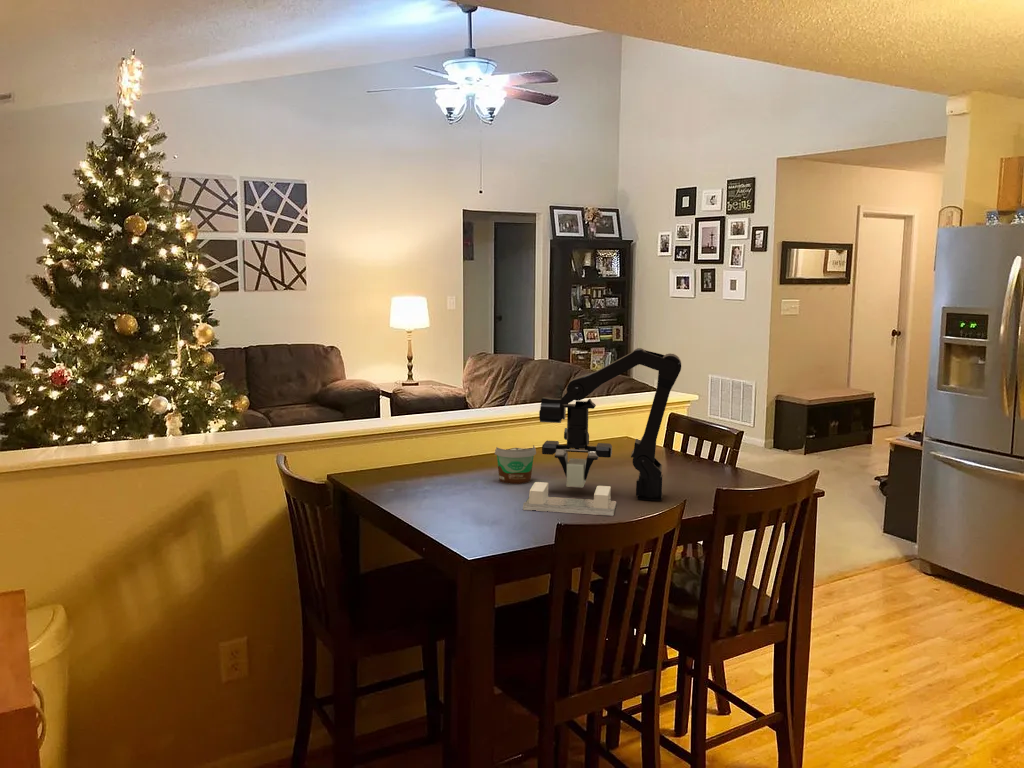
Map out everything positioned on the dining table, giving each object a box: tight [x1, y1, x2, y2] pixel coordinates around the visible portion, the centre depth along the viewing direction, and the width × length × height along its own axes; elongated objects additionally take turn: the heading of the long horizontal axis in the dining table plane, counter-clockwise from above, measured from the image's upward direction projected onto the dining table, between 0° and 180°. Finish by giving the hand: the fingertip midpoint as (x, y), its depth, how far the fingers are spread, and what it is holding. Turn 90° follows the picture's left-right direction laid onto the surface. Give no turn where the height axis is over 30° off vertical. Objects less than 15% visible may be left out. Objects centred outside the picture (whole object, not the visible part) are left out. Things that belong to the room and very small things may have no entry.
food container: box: [494, 445, 537, 485], centre depth 240 cm, size 12×6×10 cm, turn 105°
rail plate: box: [522, 496, 617, 517], centre depth 215 cm, size 23×10×2 cm, turn 79°
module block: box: [565, 457, 587, 488], centre depth 228 cm, size 4×8×6 cm, turn 169°
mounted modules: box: [528, 481, 612, 509], centre depth 215 cm, size 20×9×4 cm, turn 79°
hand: (576, 479), depth 229 cm, fingers closed on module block, 4 cm apart
